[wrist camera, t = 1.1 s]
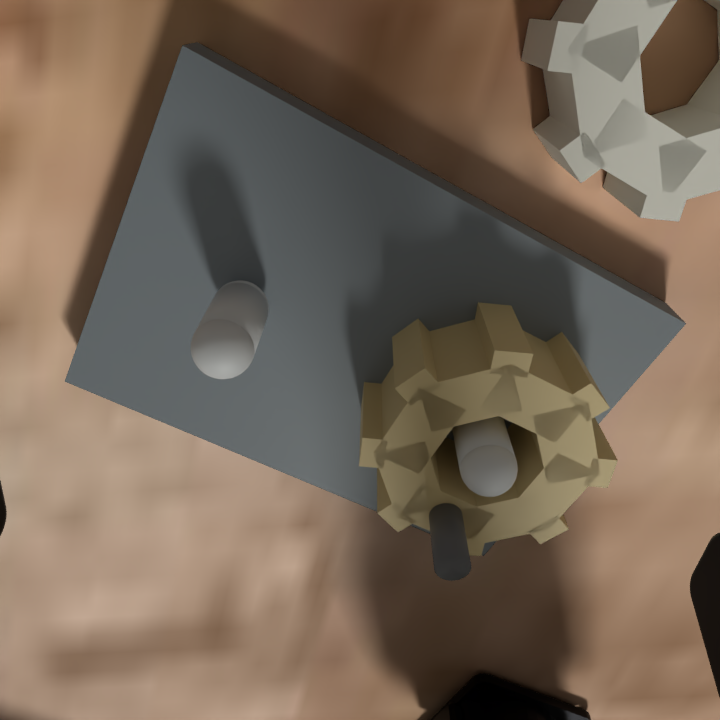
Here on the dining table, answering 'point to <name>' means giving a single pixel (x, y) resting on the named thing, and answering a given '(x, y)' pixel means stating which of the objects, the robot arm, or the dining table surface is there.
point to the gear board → (359, 320)
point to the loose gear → (623, 107)
